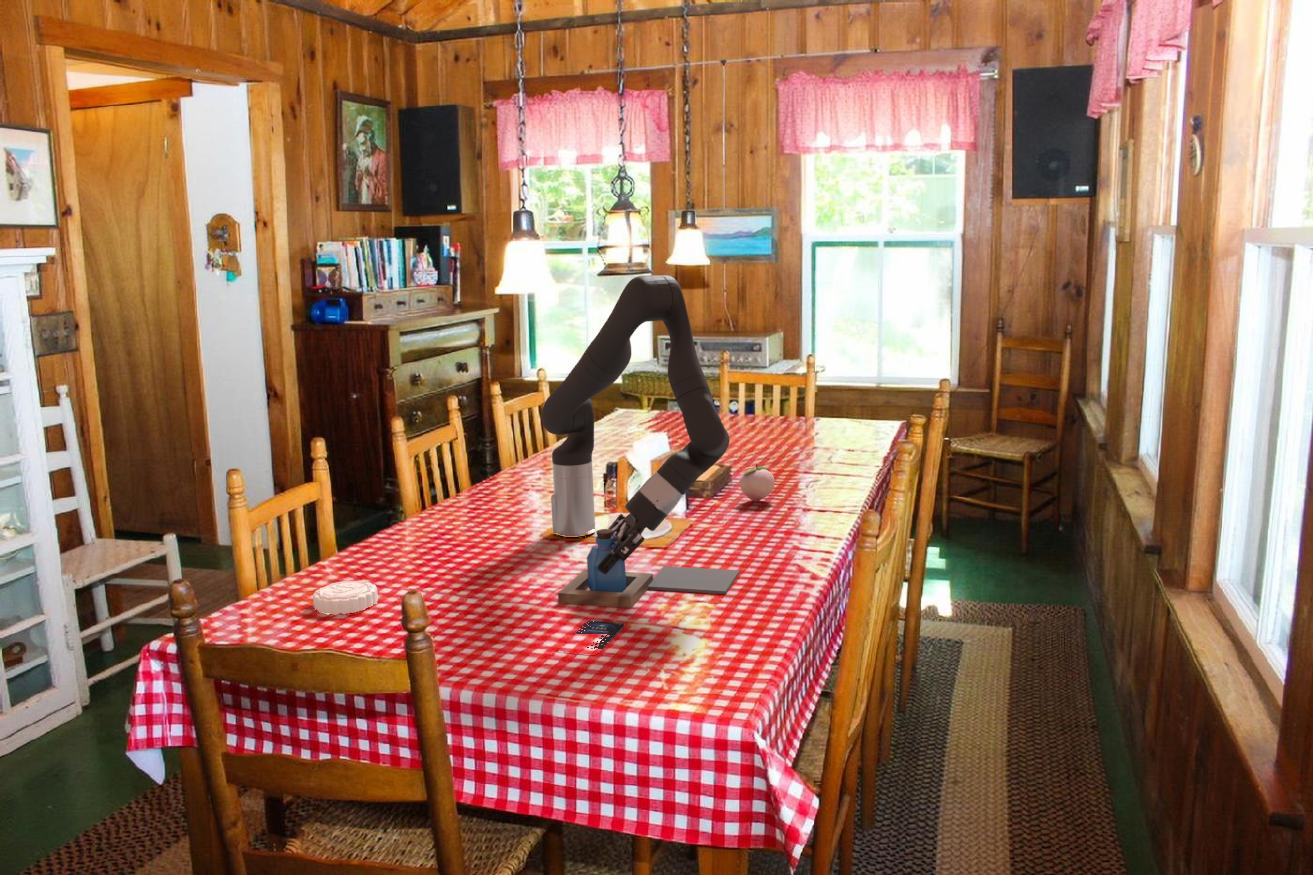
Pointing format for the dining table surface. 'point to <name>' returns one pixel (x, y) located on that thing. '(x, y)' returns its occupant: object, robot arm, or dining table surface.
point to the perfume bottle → (596, 578)
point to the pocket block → (579, 594)
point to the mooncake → (345, 597)
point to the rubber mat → (694, 580)
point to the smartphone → (601, 630)
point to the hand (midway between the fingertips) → (597, 565)
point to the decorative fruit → (757, 483)
